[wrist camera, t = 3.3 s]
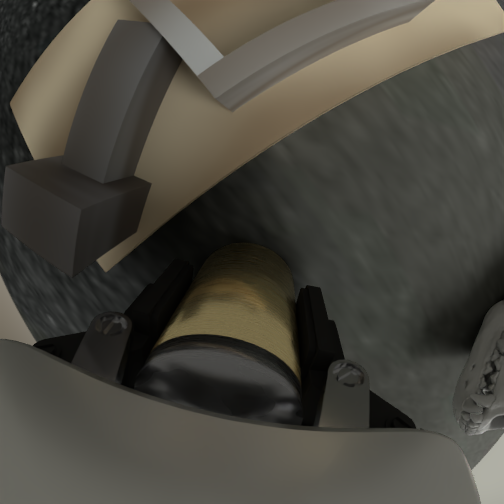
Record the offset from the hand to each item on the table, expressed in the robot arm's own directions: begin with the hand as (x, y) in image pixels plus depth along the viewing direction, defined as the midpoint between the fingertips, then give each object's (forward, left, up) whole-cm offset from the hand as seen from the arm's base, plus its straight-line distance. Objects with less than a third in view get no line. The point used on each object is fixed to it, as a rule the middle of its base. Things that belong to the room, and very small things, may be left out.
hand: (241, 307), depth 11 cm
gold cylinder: (0, 0, -2) cm, 2 cm away
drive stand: (+10, -8, -2) cm, 13 cm away
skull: (-12, -13, -2) cm, 18 cm away
